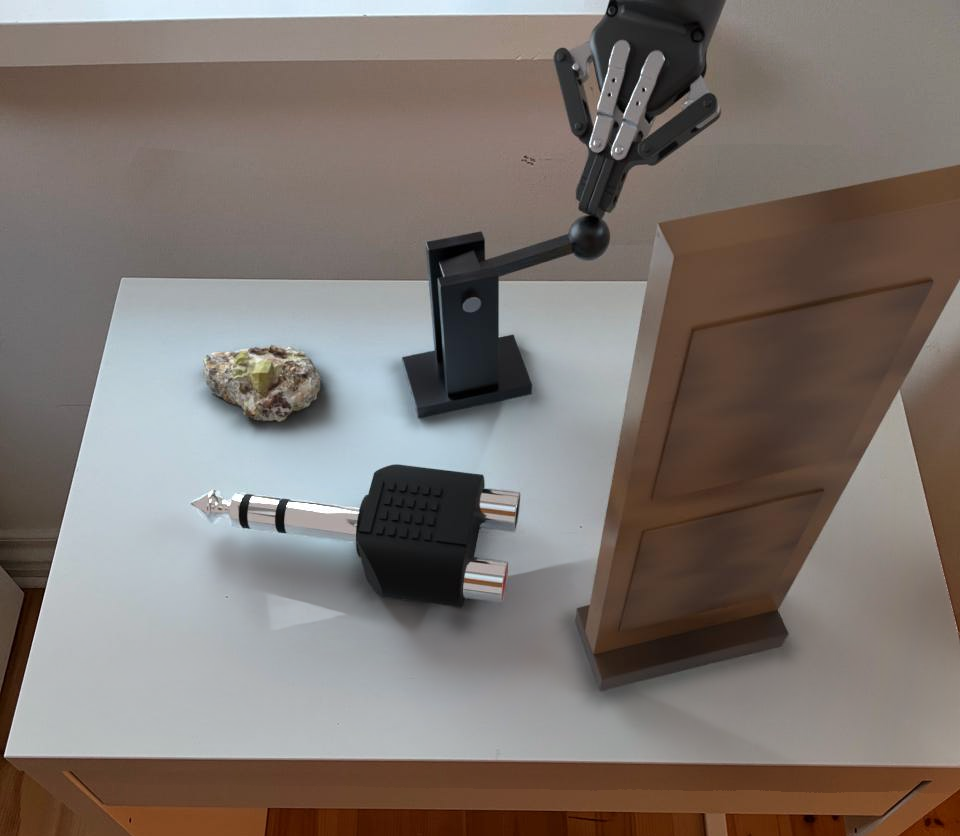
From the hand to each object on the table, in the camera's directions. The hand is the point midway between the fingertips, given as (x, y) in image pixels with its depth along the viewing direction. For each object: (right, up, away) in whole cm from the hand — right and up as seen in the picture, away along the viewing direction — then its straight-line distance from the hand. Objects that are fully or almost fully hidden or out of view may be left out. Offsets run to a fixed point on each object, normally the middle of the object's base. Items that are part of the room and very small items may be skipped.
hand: (589, 213), depth 68 cm
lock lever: (-4, -3, +3) cm, 6 cm away
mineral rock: (-27, -9, +12) cm, 31 cm away
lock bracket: (-9, -9, +12) cm, 17 cm away
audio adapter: (-18, -24, +4) cm, 30 cm away
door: (+6, -31, 0) cm, 32 cm away
